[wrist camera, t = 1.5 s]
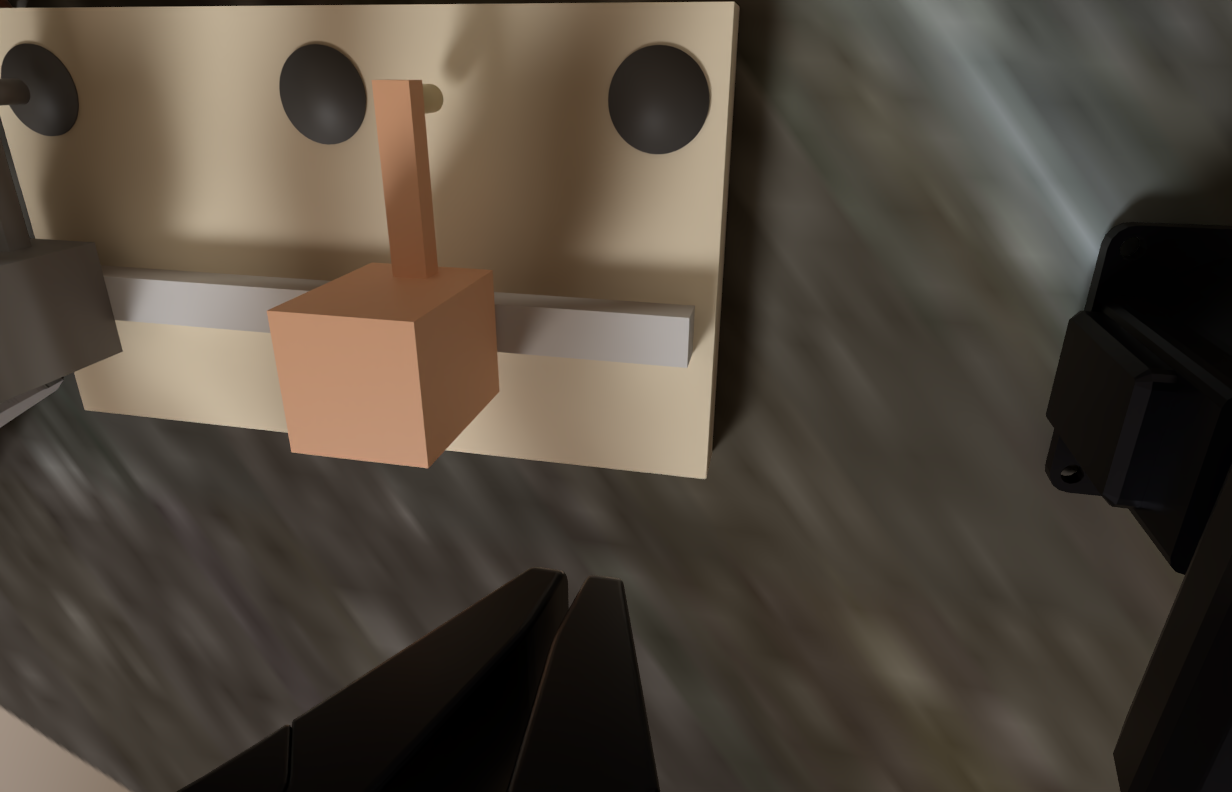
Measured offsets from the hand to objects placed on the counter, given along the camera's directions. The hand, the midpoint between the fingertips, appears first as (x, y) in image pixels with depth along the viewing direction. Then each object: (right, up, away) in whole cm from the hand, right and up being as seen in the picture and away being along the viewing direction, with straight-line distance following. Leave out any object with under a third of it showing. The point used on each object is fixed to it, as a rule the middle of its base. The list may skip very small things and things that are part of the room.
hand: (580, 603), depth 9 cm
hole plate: (-6, +7, +12) cm, 15 cm away
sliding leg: (-4, +6, +9) cm, 12 cm away
